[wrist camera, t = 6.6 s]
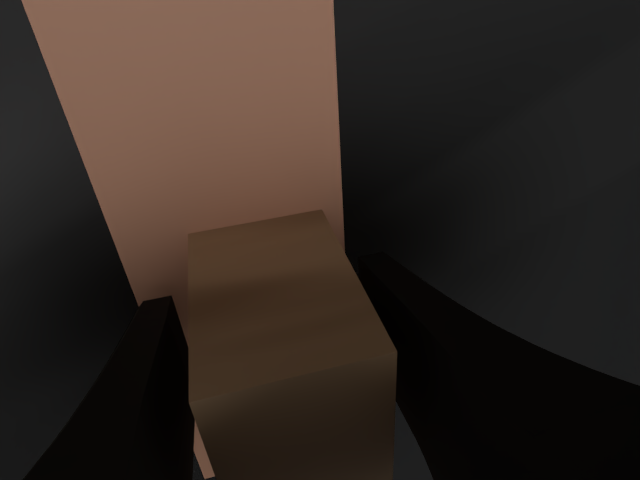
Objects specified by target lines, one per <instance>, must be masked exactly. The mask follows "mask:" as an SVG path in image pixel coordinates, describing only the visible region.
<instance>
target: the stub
mask: <svg viewBox="0 0 640 480" xmlns="http://www.w3.org/2000/svg"><path fill="white" fill-rule="evenodd" d="M22 3H23V5H24V8H25V11H26V13H27V16H28V18H29V21H30V24H31V26H32V29H33V32H34V34H35V37H36V39H37V42H38V45H39V47H40V50H41V52H42V55H43V58H44V60H45V63H46V66H47V68H48V71H49V73H50V76H51V79H52V81H53V84H54V86H55V89H56V92H57V94H58V97H59V100H60V102H61V105H62V107H63V110H64V113H65V115H66V118H67V120H68V123H69V126H70V128H71V131H72V134H73V136H74V139H75V141H76V144H77V147H78V149H79V152H80V154H81V157H82V160H83V162H84V165H85V168H86V170H87V173H88V175H89V178H90V181H91V183H92V186H93V188H94V191H95V194H96V196H97V199H98V202H99V204H100V207H101V209H102V212H103V215H104V217H105V220H106V222H107V225H108V228H109V230H110V233H111V236H112V238H113V241H114V243H115V246H116V249H117V251H118V254H119V257H120V259H121V262H122V264H123V267H124V270H125V272H126V275H127V277H128V280H129V283H130V285H131V288H132V291H133V293H134V296H135V298H136V301H137V304H138V306H140V305H141V303H142V302H143V301H146V300H151V299H156V298H161V297H166V296H171V295H172V298H173V301H174V304H175V307H176V311H177V314H178V317H179V320H180V323H181V326H182V329H183V332H184V335H185V338H186V341H187V345H188V348H189V405H190V408H191V410H192V413H193V416H194V419H195V430H194V453H195V455H196V458H197V461H198V463H199V466H200V468H201V471H202V474H203V476H204V479H206V478H210V477H214V476H215V478H216V480H393V456H394V429H395V401H396V374H397V350H396V348H395V346H394V344H393V342H392V341H391V339H390V337H389V335H388V333H387V331H386V329H385V327H384V326H383V324H382V322H381V320H380V318H379V316H378V314H377V312H376V311H375V309H374V307H373V305H372V303H371V301H370V299H369V297H368V295H367V294H366V292H365V290H364V288H363V286H362V284H361V282H360V280H359V279H358V277H357V275H356V273H355V271H354V269H353V267H352V265H351V263H350V262H349V260H348V258H347V256H346V254H345V243H344V221H343V200H342V178H341V157H340V135H339V114H338V92H337V71H336V49H335V28H334V6H333V0H22Z"/></svg>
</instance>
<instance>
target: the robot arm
mask: <svg viewBox="0 0 640 480" xmlns="http://www.w3.org/2000/svg"><path fill="white" fill-rule="evenodd" d="M358 261H359V280H360V282H361V284H362V286H363V288H364V290H365V292H366V294H367V295H368V297H369V299H370V301H371V303H372V305H373V307H374V309H375V311H376V312H377V314H378V316H379V318H380V320H381V322H382V324H383V326H384V327H385V329H386V331H387V333H388V335H389V337H390V339H391V341H392V342H393V344H394V346H395V348H396V350H397V374H396V402H397V404H398V406H399V408H400V410H401V411H402V413H403V415H404V417H405V419H406V421H407V423H408V425H409V427H410V429H411V431H412V432H413V434H414V436H415V438H416V440H417V442H418V445H419V447H420V449H421V451H422V453H423V455H424V457H425V460H426V462H427V465H428V467H429V470H430V472H431V475H432V477H433V479H434V480H640V386H638V385H635V384H632V383H629V382H626V381H624V380H621V379H618V378H615V377H612V376H610V375H607V374H604V373H601V372H599V371H596V370H593V369H591V368H588V367H586V366H583V365H581V364H578V363H576V362H573V361H571V360H569V359H566V358H564V357H561V356H559V355H556V354H554V353H552V352H550V351H547V350H545V349H543V348H541V347H538V346H536V345H534V344H532V343H530V342H528V341H526V340H524V339H522V338H520V337H518V336H516V335H514V334H512V333H510V332H508V331H506V330H504V329H502V328H500V327H498V326H496V325H494V324H492V323H491V322H489V321H487V320H485V319H484V318H482V317H480V316H478V315H477V314H475V313H473V312H472V311H470V310H468V309H466V308H465V307H463V306H461V305H460V304H458V303H457V302H455V301H453V300H452V299H450V298H449V297H447V296H446V295H444V294H442V293H441V292H439V291H438V290H436V289H435V288H433V287H432V286H430V285H429V284H428V283H426V282H425V281H423V280H422V279H420V278H419V277H417V276H416V275H415V274H413V273H412V272H410V271H409V270H408V269H406V268H405V267H403V266H402V265H401V264H399V263H398V262H396V261H395V260H394V259H392V258H391V257H389V256H388V255H386V254H385V253H383V252H381V253H376V254H371V255H366V256H361V257H358ZM194 430H195V419H194V416H193V413H192V410H191V408H190V405H189V348H188V345H187V341H186V338H185V335H184V332H183V329H182V326H181V323H180V320H179V317H178V314H177V311H176V307H175V304H174V301H173V298H172V295H171V296H166V297H161V298H156V299H151V300H146V301H143V302H142V303H141V305H140V306H139V308H138V309H137V311H136V313H135V315H134V317H133V319H132V320H131V322H130V324H129V326H128V328H127V329H126V331H125V333H124V335H123V337H122V338H121V340H120V342H119V344H118V345H117V347H116V349H115V350H114V352H113V354H112V355H111V357H110V359H109V360H108V362H107V364H106V365H105V367H104V368H103V370H102V372H101V373H100V375H99V377H98V378H97V380H96V381H95V383H94V384H93V386H92V387H91V389H90V390H89V392H88V393H87V395H86V396H85V398H84V399H83V401H82V402H81V403H80V405H79V406H78V408H77V409H76V411H75V412H74V414H73V415H72V417H71V418H70V420H69V421H68V422H67V424H66V425H65V426H64V428H63V429H62V430H61V432H60V433H59V434H58V436H57V437H56V438H55V440H54V441H53V442H52V444H51V445H50V446H49V448H48V449H47V450H46V451H45V453H44V454H43V455H42V456H41V458H40V459H39V460H38V461H37V463H36V464H35V465H34V466H33V468H32V469H31V470H30V471H29V472H28V474H27V475H26V476H25V477H24V478H23V480H192V473H193V452H194Z"/></svg>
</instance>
